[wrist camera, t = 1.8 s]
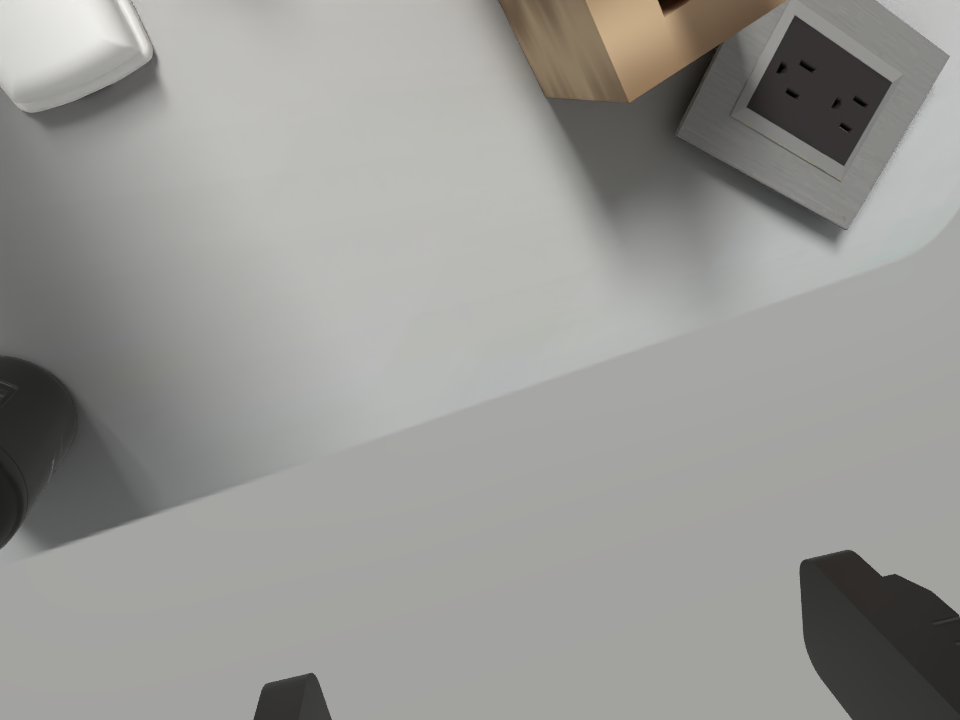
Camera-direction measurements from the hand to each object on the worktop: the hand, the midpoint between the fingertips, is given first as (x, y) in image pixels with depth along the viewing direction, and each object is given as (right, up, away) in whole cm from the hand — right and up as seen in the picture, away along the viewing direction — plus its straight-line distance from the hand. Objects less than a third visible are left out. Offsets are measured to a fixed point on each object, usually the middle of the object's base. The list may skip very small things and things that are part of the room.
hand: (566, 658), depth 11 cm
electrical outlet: (+16, +20, +28) cm, 38 cm away
